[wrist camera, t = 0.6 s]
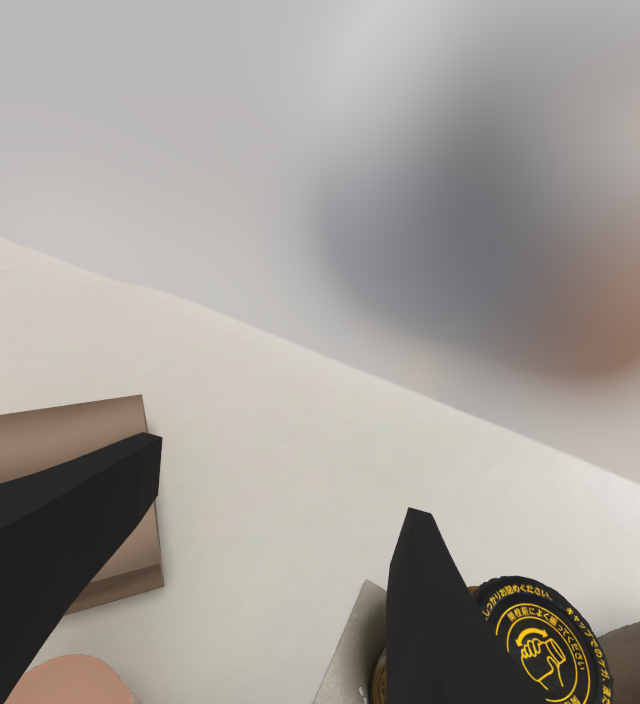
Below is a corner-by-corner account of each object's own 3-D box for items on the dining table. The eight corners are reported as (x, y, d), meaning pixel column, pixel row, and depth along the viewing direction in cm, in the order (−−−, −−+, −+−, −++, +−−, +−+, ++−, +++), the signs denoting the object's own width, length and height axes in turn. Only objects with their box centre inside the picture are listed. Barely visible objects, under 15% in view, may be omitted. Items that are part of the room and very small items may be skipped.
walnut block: (164, 588, 25) (159, 563, 23) (-76, 658, 22) (-118, 639, 19) (147, 428, 32) (141, 394, 29) (-38, 460, 28) (-65, 424, 25)
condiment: (467, 827, 21) (648, 857, 12) (308, 714, 22) (369, 672, 14) (497, 662, 26) (641, 601, 17) (365, 580, 27) (435, 488, 19)
